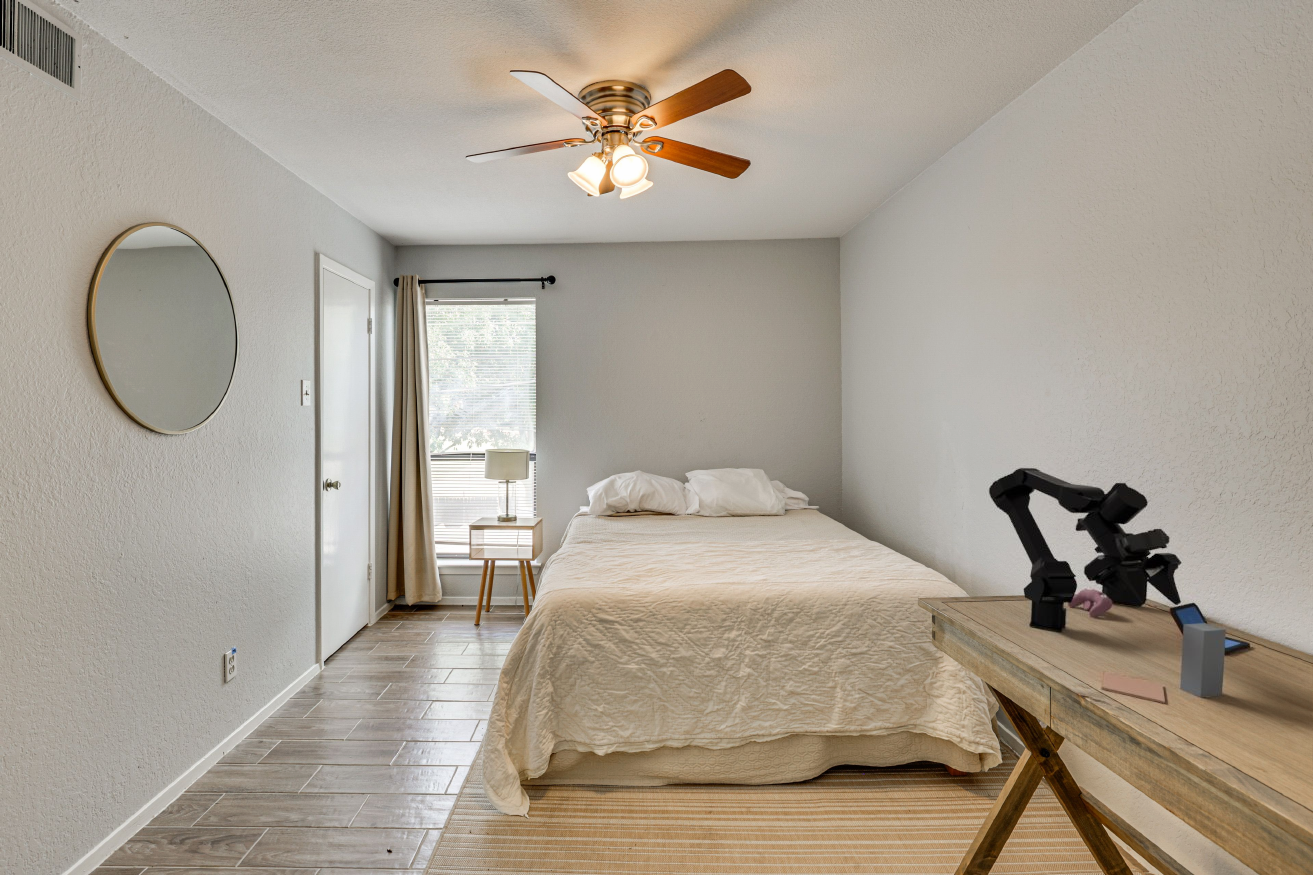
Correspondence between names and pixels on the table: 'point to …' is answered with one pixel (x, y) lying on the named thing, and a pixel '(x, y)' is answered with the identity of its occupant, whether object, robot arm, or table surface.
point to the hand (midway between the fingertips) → (1159, 604)
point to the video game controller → (1092, 602)
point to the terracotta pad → (1133, 687)
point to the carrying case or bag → (1137, 582)
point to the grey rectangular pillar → (1202, 659)
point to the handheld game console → (1194, 616)
